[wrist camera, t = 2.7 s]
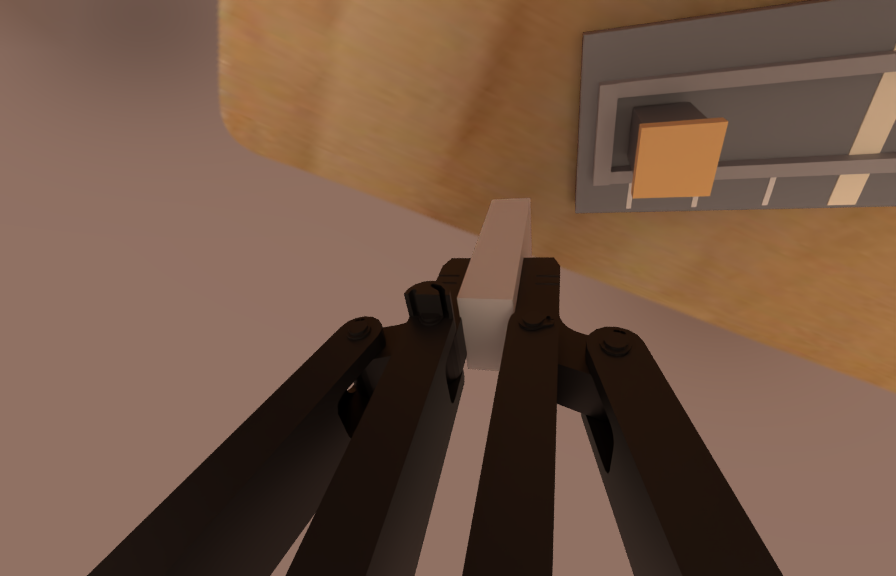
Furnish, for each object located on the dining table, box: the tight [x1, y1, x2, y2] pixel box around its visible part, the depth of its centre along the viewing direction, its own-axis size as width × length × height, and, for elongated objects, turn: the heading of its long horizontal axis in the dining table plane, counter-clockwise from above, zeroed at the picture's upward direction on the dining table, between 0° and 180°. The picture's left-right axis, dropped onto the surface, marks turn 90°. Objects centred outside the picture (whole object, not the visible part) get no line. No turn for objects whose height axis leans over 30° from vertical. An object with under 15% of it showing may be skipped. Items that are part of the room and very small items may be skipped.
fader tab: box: [627, 102, 728, 199], centre depth 22 cm, size 4×4×6 cm
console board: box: [575, 0, 896, 213], centre depth 23 cm, size 23×11×3 cm, turn 98°
